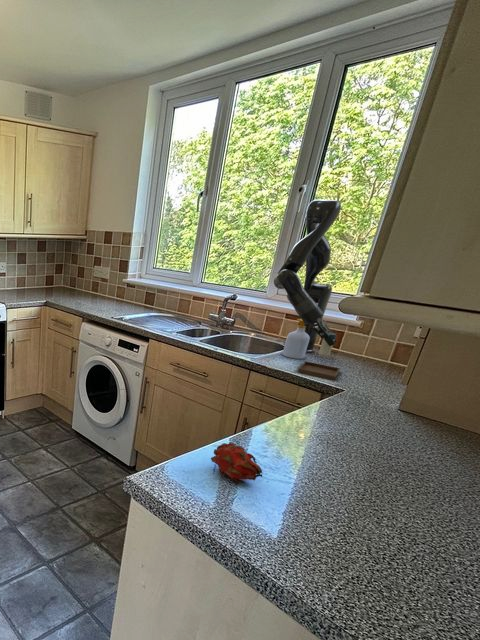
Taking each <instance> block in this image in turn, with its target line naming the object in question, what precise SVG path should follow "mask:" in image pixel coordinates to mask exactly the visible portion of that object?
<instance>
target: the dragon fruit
mask: <svg viewBox="0 0 480 640" xmlns="http://www.w3.org/2000/svg"><path fill="white" fill-rule="evenodd" d="M213 455H214V456H211V458H210V460H211V462H212V463H214V464H215V465H217V467H218V471H219V475H220V476H221V477H224V476H225V475H226V476H228V477H229V478H230V480H233V481H234V482H235V483H239V484H246V482H245V481H246V480H251V481H255V480H256V479H257V478H258V477H260V478H263V470H262V467H261V466H260V465H259V464H258V462H257V461H256V460H257V459H256V457H255V456H254V455H252V454H251V453H249V452H247V451H246V449H245V448H244V447H242V446H241V445H236V443H234V442H228V443H226V442H224V443H221V444H219V445H217V446H216V448H215V449H213Z"/></svg>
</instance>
